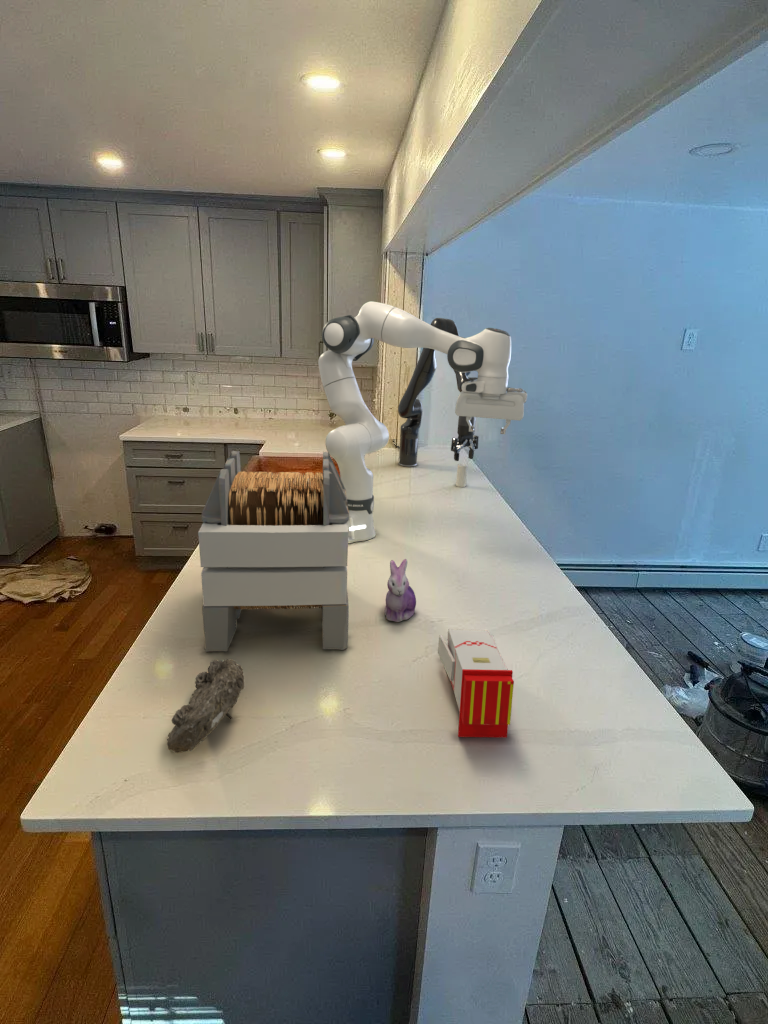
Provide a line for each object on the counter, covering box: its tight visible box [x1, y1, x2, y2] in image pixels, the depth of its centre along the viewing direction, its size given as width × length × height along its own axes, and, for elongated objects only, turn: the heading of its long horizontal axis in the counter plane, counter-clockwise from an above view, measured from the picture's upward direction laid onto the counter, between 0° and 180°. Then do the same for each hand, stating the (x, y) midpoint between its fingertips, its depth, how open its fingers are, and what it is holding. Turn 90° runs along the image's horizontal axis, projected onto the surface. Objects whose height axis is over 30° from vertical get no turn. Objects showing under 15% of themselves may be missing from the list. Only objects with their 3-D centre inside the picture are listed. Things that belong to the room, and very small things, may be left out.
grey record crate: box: [197, 450, 350, 653], centre depth 138 cm, size 34×33×41 cm
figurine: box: [384, 558, 417, 623], centre depth 145 cm, size 9×10×15 cm
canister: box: [455, 463, 469, 488], centre depth 257 cm, size 5×5×10 cm
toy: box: [437, 628, 515, 738], centre depth 117 cm, size 12×13×30 cm
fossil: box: [166, 658, 245, 754], centre depth 106 cm, size 22×10×15 cm
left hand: (486, 432), depth 171 cm, fingers open, 8 cm apart
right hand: (463, 459), depth 254 cm, fingers open, 8 cm apart
